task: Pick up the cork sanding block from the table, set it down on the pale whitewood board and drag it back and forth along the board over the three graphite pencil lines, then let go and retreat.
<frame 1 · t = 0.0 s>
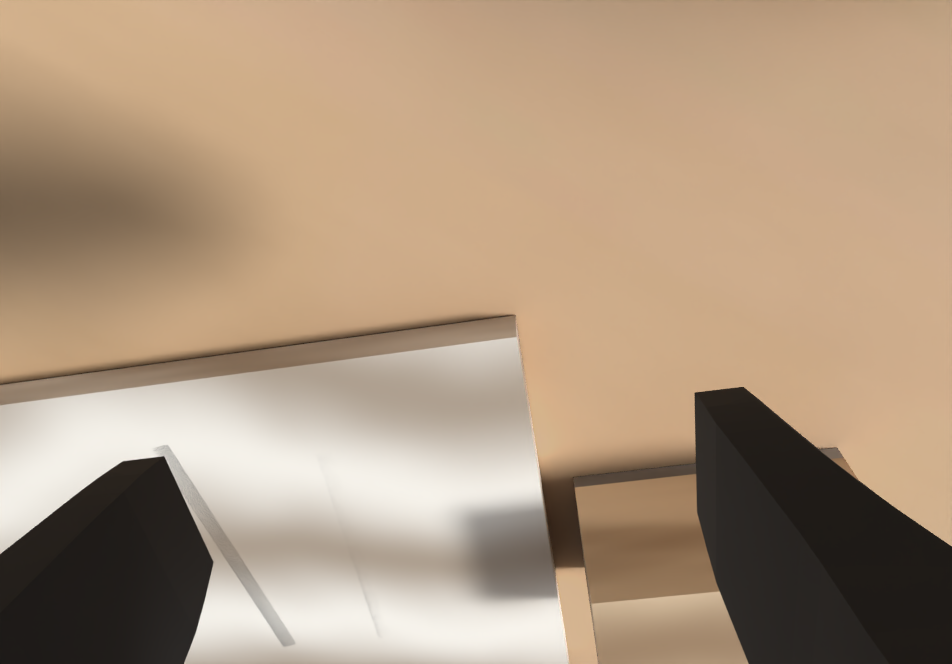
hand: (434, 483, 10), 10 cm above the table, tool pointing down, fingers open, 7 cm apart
sanding block: (702, 508, 24), on the table
board: (275, 535, 24), on the table
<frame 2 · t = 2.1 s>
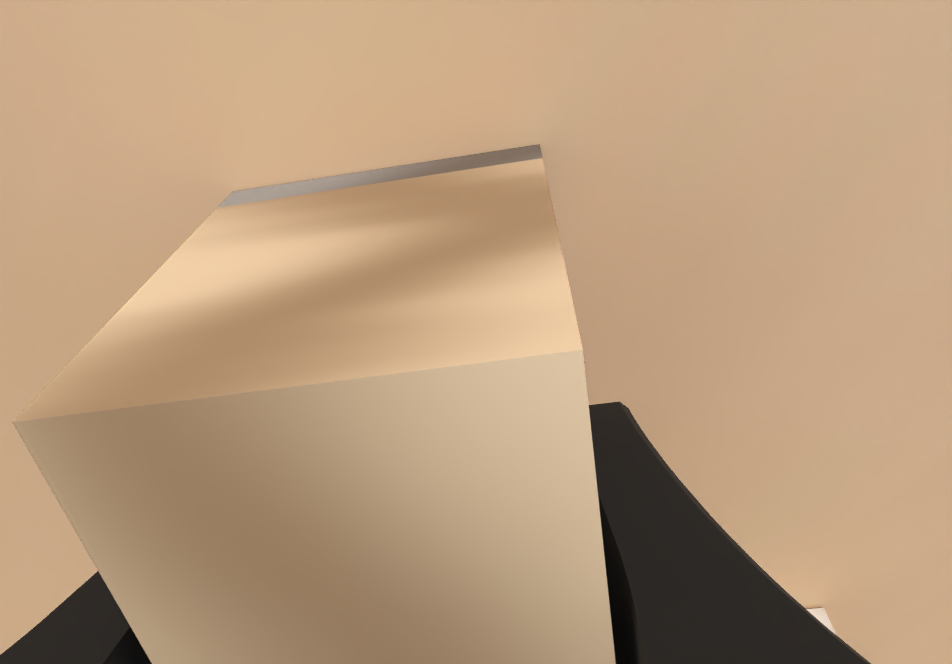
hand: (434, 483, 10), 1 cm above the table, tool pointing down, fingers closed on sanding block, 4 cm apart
sanding block: (440, 421, 11), on the table, touching gripper
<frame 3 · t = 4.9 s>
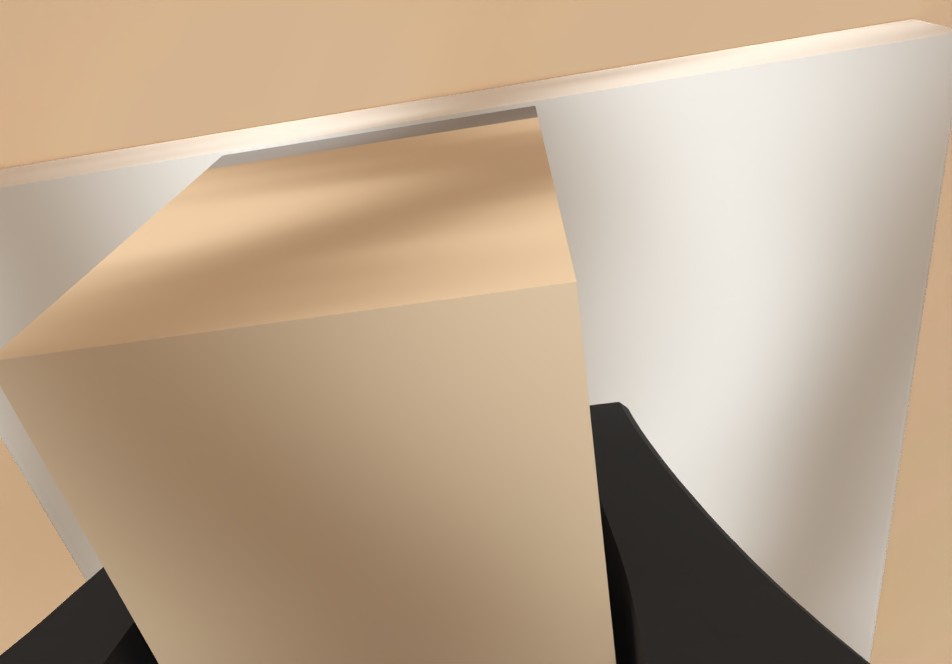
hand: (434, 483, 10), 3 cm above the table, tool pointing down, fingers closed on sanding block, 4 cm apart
sanding block: (435, 394, 11), point 1 cm above the table, touching gripper
board: (486, 565, 14), on the table
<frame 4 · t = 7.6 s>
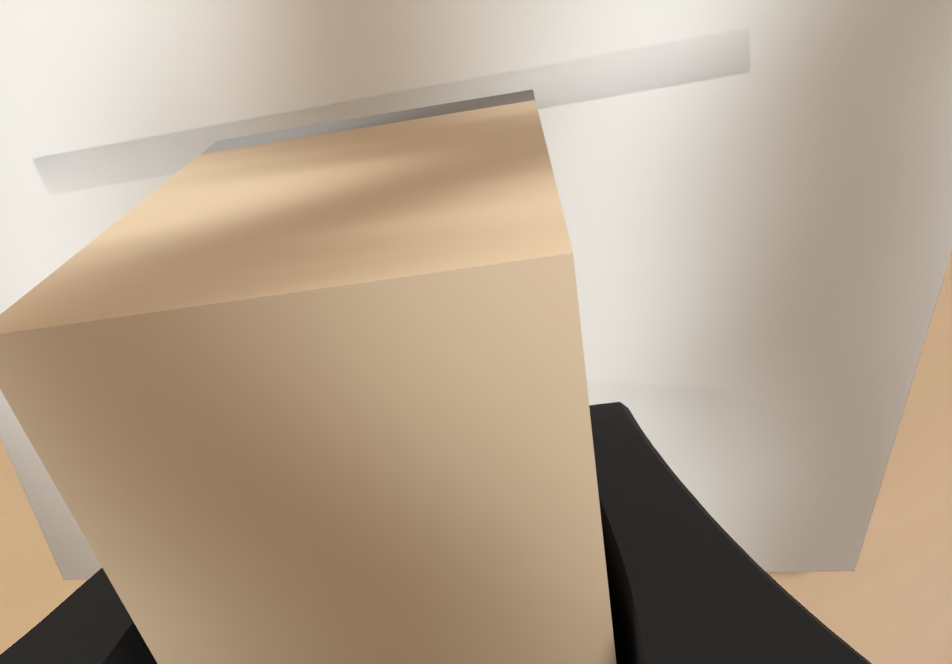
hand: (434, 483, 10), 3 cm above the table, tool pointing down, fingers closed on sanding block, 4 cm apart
sanding block: (432, 384, 11), point 1 cm above the table, touching gripper
board: (419, 16, 10), on the table
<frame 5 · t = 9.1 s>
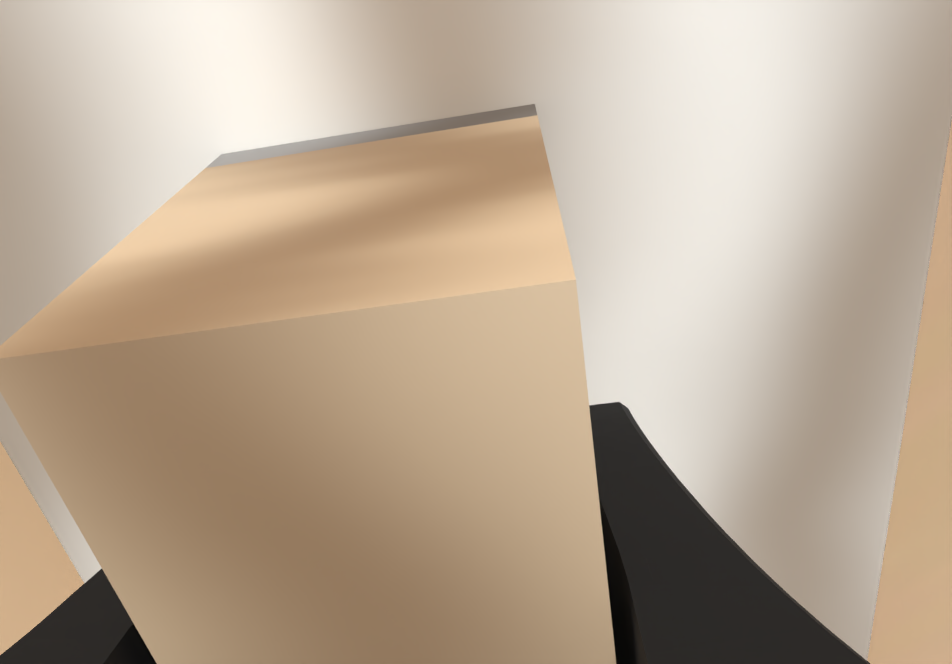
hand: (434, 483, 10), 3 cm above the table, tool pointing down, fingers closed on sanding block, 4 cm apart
sanding block: (434, 393, 11), point 1 cm above the table, touching gripper
board: (464, 472, 13), on the table
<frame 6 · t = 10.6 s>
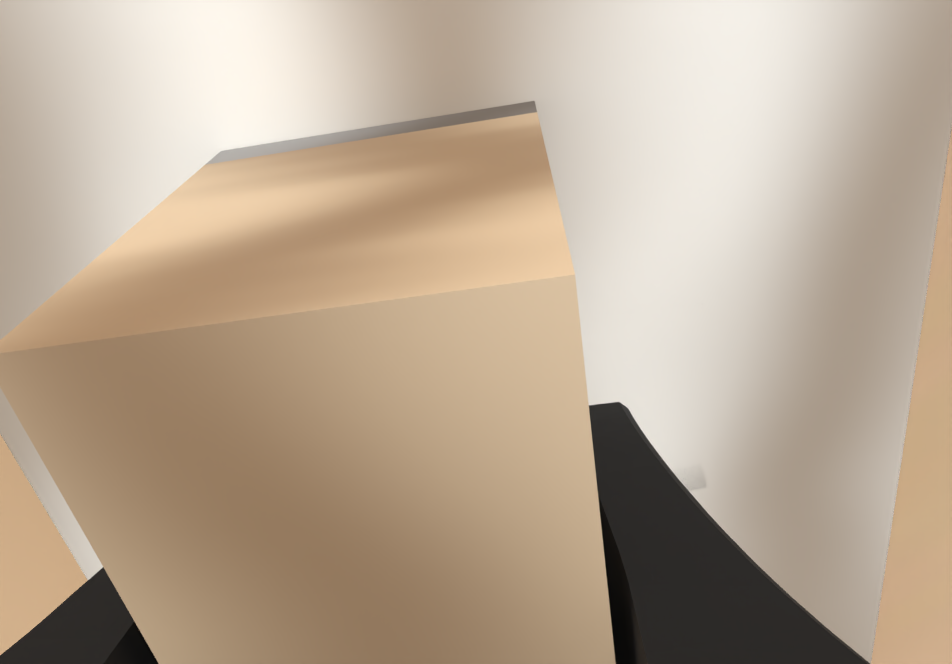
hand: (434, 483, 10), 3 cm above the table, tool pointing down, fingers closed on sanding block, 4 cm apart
sanding block: (434, 390, 11), point 1 cm above the table, touching gripper
board: (460, 440, 13), on the table
when the fingers open (3 cm above the table, at t = 13.1 s): sanding block stays where it is, resting on board.
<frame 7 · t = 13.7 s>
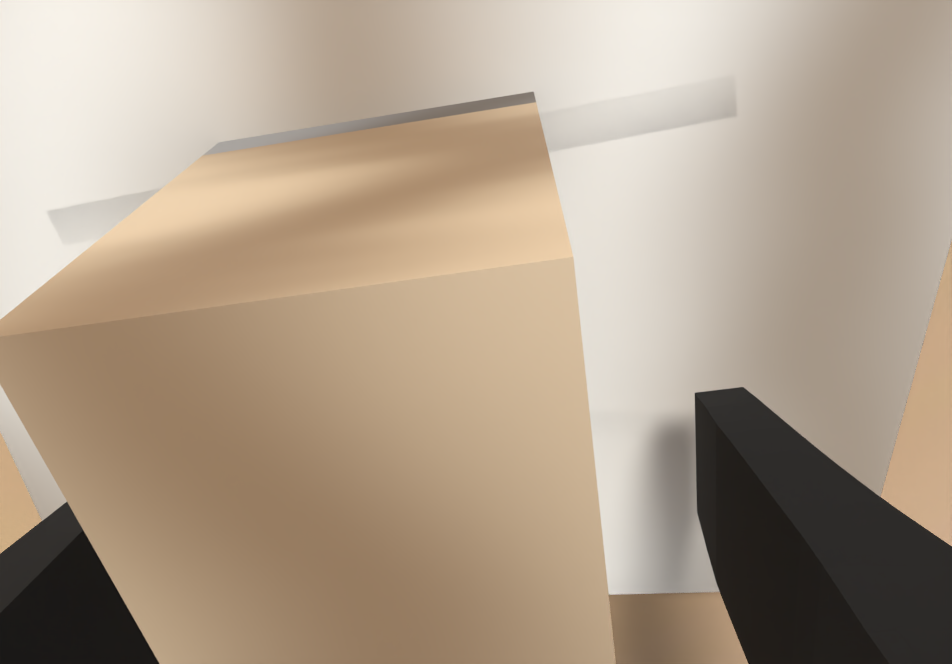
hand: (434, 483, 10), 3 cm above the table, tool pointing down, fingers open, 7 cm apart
sanding block: (433, 384, 11), point 1 cm above the table, touching board
board: (416, 65, 10), on the table
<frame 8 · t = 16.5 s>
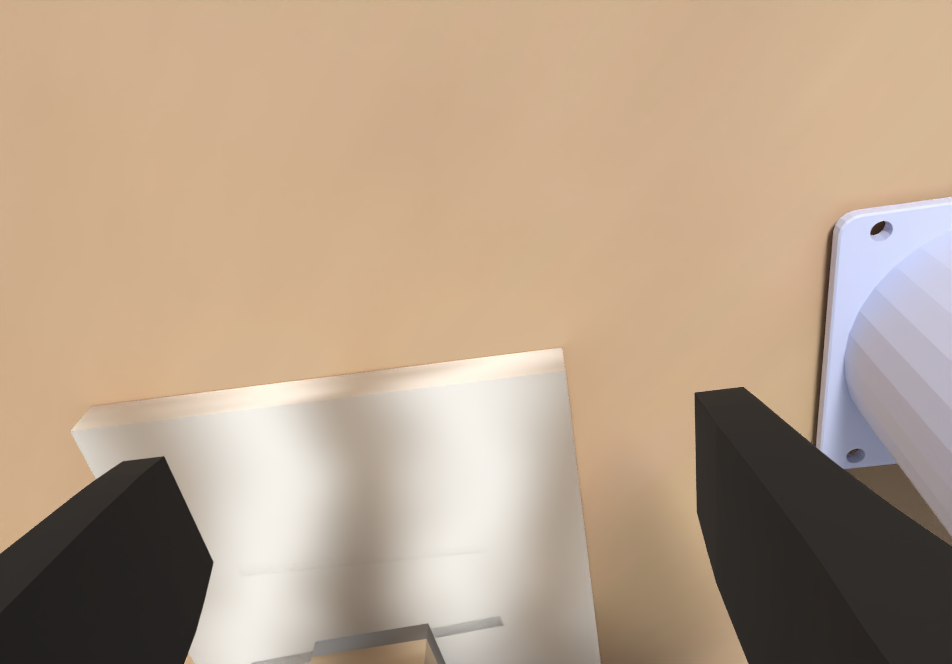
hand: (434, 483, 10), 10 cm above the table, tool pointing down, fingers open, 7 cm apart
board: (386, 594, 25), on the table
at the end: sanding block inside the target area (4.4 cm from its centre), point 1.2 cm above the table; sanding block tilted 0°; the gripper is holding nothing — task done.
